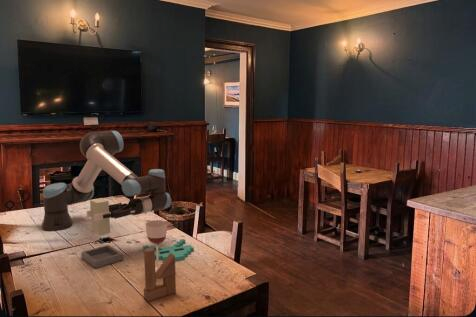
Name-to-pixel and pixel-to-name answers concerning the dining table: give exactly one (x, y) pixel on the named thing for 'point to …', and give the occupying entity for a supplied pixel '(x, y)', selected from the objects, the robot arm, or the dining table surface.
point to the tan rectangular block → (97, 208)
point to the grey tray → (102, 256)
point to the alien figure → (173, 251)
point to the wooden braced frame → (158, 276)
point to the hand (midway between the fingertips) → (90, 215)
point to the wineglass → (156, 234)
